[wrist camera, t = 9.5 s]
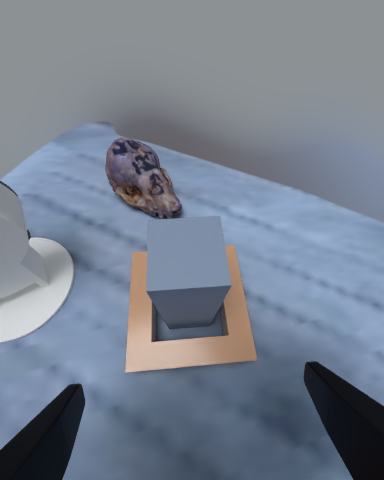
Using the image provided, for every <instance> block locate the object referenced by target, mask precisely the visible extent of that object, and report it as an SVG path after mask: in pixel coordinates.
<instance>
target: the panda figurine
mask: <svg viewBox="0 0 384 480" xmlns="http://www.w3.org/2000/svg"><path fill="white" fill-rule="evenodd" d="M74 275H75V269H74V263H73V260H72V257H71V256H70V254H69V253H68V251H67V250H66V249H65V248H64V247H63V246H62V245H60V244H59V243H57V242H55V241H53V240H50V239H46V238H30V232H29V231H28V230H27V228H26V223H25V218H24V212H23V207H22V203H21V201H20V199H19V198H18V196H17V194H16V193H15V192H14V191H13V190H12V189H11V188H10V187H9V186H7V185H6V184H4V183H3V182H1V181H0V343H1V342H9V341H13V340H17V339H19V338H22V337H25V336H27V335H29V334H31V333H33V332H34V331H36V330H38V329H39V328H41V327H42V326H43V325H45V324H46V323H47V322H48V321H49V320H51V319H52V318H53V317H54V316H55V314H56V313H57V312H58V311H59V310H60V309H61V307H62V306H63V304H64V303H65V301H66V300H67V298H68V296H69V294H70V291H71V289H72V286H73V282H74Z"/></svg>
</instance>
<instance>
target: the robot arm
mask: <svg viewBox="0 0 384 480" xmlns="http://www.w3.org/2000/svg"><path fill="white" fill-rule="evenodd" d="M304 382H305V385H306V387H307V390H308V392H309V394H310V396H311V399H312V401H313V403H314V405H315V407H316V410H317V412H318V414H319V416H320V418H321V421H322V423H323V425H324V427H325V429H326V431H327V433H328V435H329V436H330V438H331V440H332V442H333V444H334V445H335V447H336V449H337V451H338V453H339V454H340V456H341V458H342V460H343V462H344V463H345V465H346V467H347V469H348V471H349V472H350V474H351V476H352V478H353V480H384V406H383V405H381V404H380V403H378V402H377V401H375V400H374V399H372V398H371V397H369V396H368V395H366V394H365V393H363V392H362V391H360V390H359V389H357V388H356V387H354V386H353V385H351V384H350V383H348V382H347V381H345V380H344V379H342V378H341V377H339V376H338V375H336V374H335V373H333V372H332V371H330V370H329V369H327V368H326V367H324V366H323V365H321V364H320V363H318V362H316V361H312V362H306V363H305V370H304ZM84 406H85V397H84V392H83V388H82V385H81V384H71V385H69V386H67V387H66V388H65V389H64V390H63V391H62V392H61V393H60V394H59V395H58V396H57V397H56V398H55V399H54V400H53V401H52V402H51V403H49V404H48V405H47V406H46V407H45V408H44V409H43V410H42V411H41V412H40V413H39V414H38V415H37V416H36V417H35V418H34V419H33V420H32V421H30V422H29V423H28V424H27V425H26V426H25V427H24V428H23V429H22V430H21V431H20V432H19V433H18V434H17V435H16V436H15V437H14V438H13V439H11V440H10V441H9V442H8V443H7V444H6V445H5V446H4V447H3V448H2V449H1V450H0V480H62V479H63V476H64V473H65V471H66V468H67V465H68V462H69V459H70V457H71V453H72V450H73V446H74V443H75V439H76V436H77V432H78V428H79V425H80V421H81V417H82V414H83V410H84Z"/></svg>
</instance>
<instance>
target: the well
mask: <svg viewBox="0 0 384 480" xmlns="http://www.w3.org/2000/svg"><path fill="white" fill-rule="evenodd" d="M225 248H226V254H227V260H228V266H229V272H230V278H231V284H232V286H231V288H230V289H229V291H228V293H227V295H226V297H225V299H224V301H223V302H222V304H221V306H220V314H221V321H222V328H223V336H216V337H204V338H193V339H182V340H170V341H159V342H156V307H155V305H154V303H153V302H152V300H151V299H150V297H149V295H148V294H147V292H146V277H147V251H142V252H133V253H132V269H131V286H130V303H129V320H128V337H127V354H126V370H125V373H126V372H137V371H147V370H158V369H169V368H179V367H190V366H200V365H211V364H222V363H232V362H243V361H254V360H257V355H256V350H255V345H254V340H253V335H252V330H251V325H250V320H249V315H248V310H247V305H246V300H245V295H244V290H243V285H242V280H241V276H240V271H239V266H238V261H237V256H236V251H235V246H234V245H229V246H225Z"/></svg>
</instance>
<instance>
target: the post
mask: <svg viewBox="0 0 384 480" xmlns="http://www.w3.org/2000/svg"><path fill="white" fill-rule="evenodd" d="M231 286H232V284H231V278H230V272H229V266H228V260H227V254H226V248H225V242H224V237H223V231H222V225H221V219H220V216H210V217H192V218H175V219H157V220H148V243H147V277H146V292H147V294H148V295H149V297H150V299H151V300H152V302H153V303H154V305H155V307H156V308H157V310H158V312H159V313H160V315H161V316H162V318H163V320H164V321H165V323H166V325H167V326H168V328H169V329H177V328H189V327H202V326H210V324H211V323H212V321H213V319H214V317H215V315H216V313H217V312H218V310H219V308H220V306H221V304H222V302H223V301H224V299H225V297H226V295H227V293H228V291H229V289H230V288H231Z"/></svg>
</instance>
